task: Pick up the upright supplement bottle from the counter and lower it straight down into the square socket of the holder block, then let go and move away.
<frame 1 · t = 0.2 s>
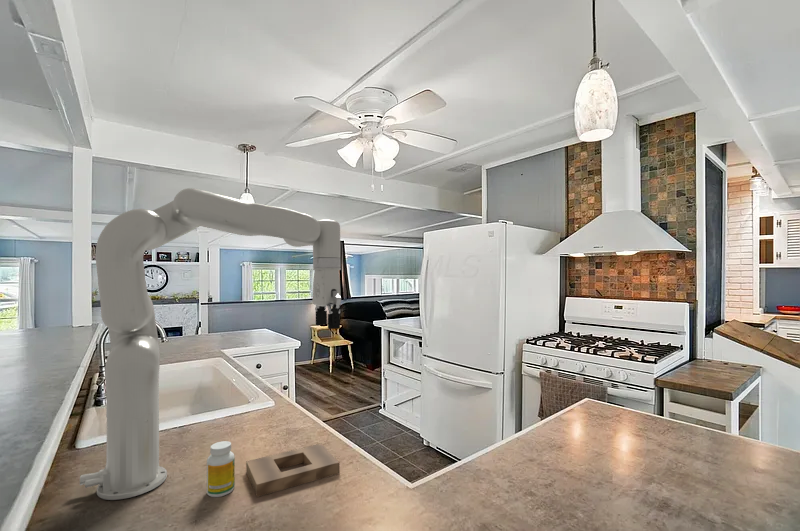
hand: (327, 326, 109), 31 cm above the countertop, tool pointing down, fingers open, 9 cm apart
holder: (292, 472, 90), on the countertop
supplement bottle: (220, 491, 83), on the countertop
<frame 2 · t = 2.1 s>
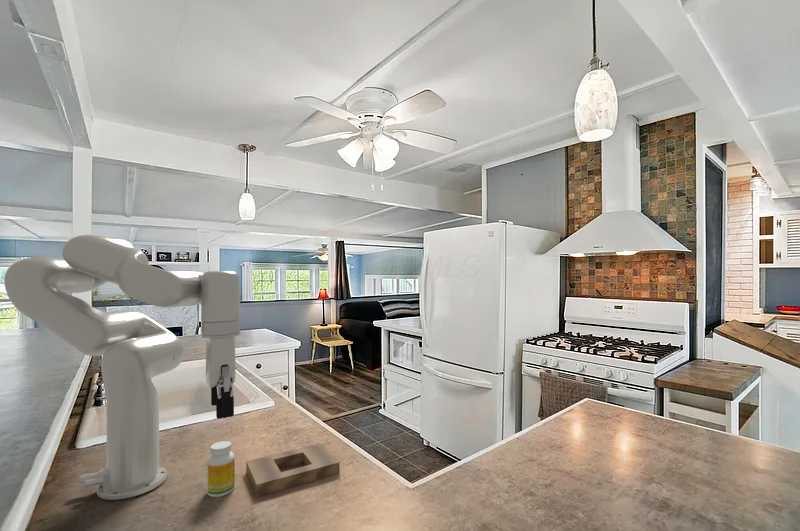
hand: (222, 410, 83), 17 cm above the countertop, tool pointing down, fingers open, 9 cm apart
nothing on the countertop moved.
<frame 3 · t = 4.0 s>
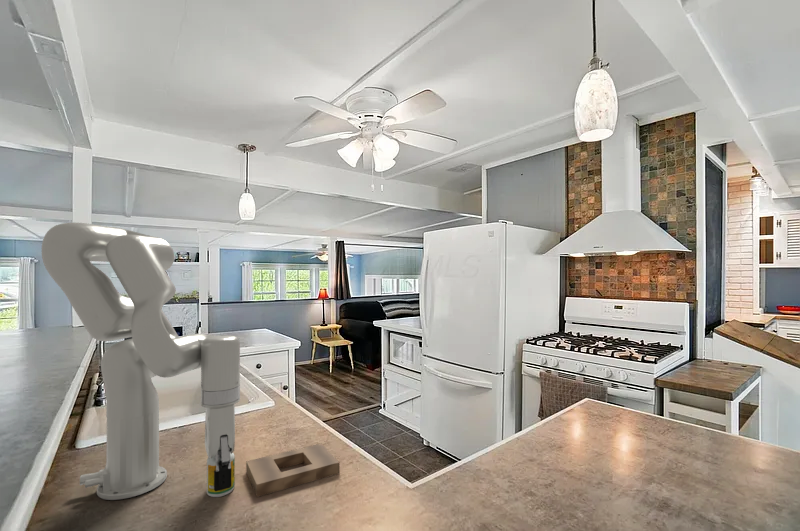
hand: (220, 481, 83), 2 cm above the countertop, tool pointing down, fingers closed on supplement bottle, 5 cm apart
supplement bottle: (220, 491, 83), on the countertop, touching gripper
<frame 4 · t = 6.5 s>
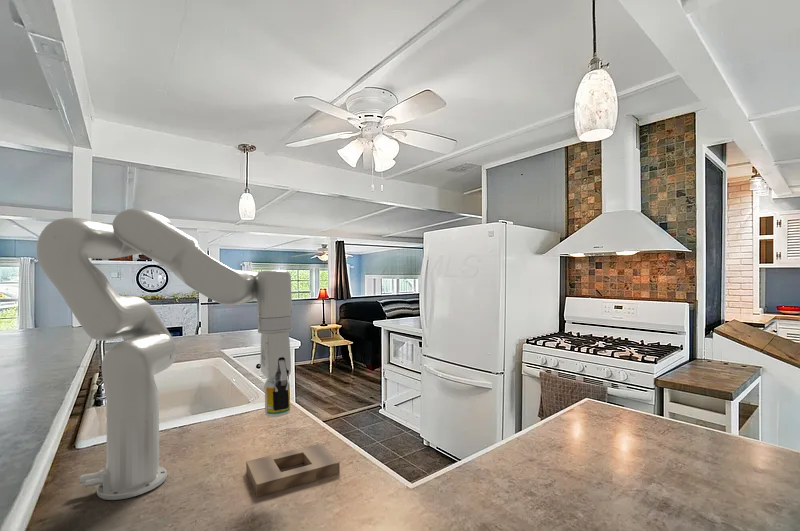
hand: (277, 404, 89), 16 cm above the countertop, tool pointing down, fingers closed on supplement bottle, 5 cm apart
supplement bottle: (278, 414, 89), point 14 cm above the countertop, touching gripper
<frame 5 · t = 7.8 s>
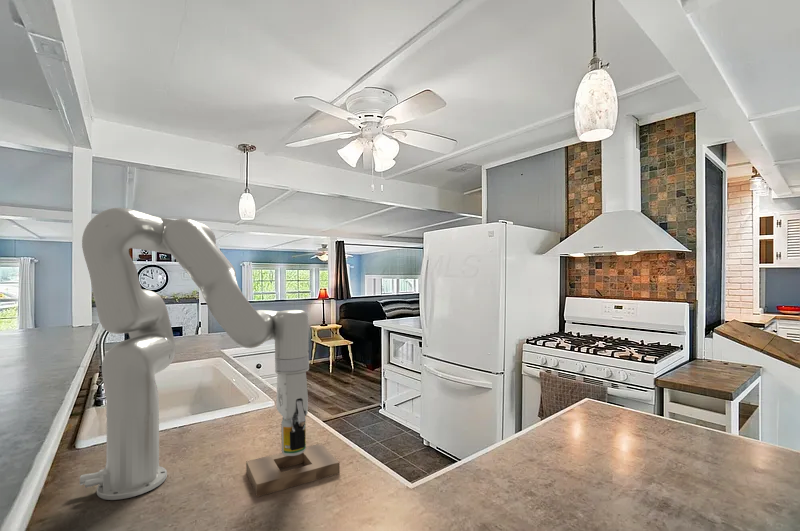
hand: (293, 442, 90), 7 cm above the countertop, tool pointing down, fingers closed on supplement bottle, 5 cm apart
supplement bottle: (293, 452, 90), point 5 cm above the countertop, touching gripper
when the fingers open (3 cm above the countertop, at t = 9.0 s): supplement bottle stays where it is, resting in holder.
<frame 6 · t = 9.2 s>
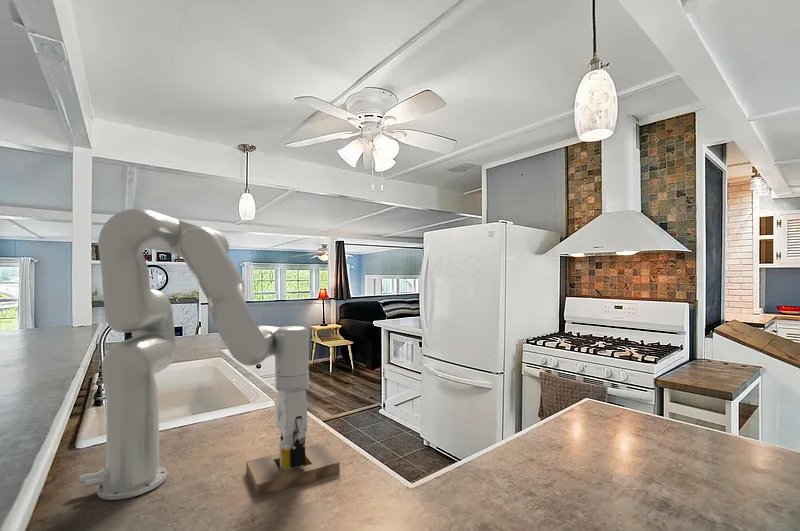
hand: (292, 458, 90), 3 cm above the countertop, tool pointing down, fingers open, 7 cm apart
supplement bottle: (291, 474, 90), resting in holder
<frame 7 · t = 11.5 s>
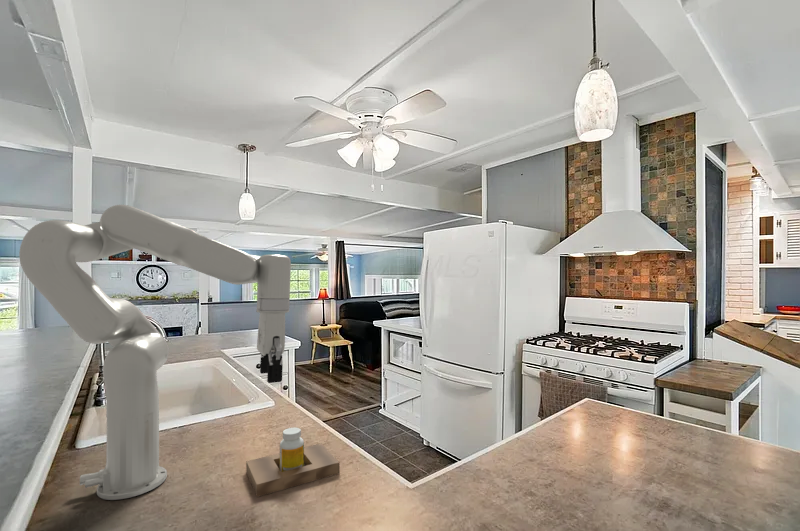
hand: (270, 377, 95), 21 cm above the countertop, tool pointing down, fingers open, 9 cm apart
nothing on the countertop moved.
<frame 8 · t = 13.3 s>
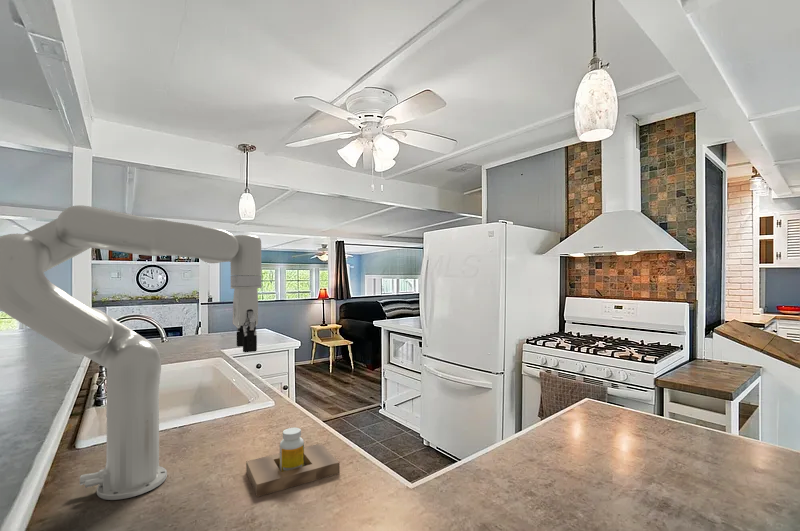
hand: (246, 348, 102), 26 cm above the countertop, tool pointing down, fingers open, 9 cm apart
nothing on the countertop moved.
at the end: supplement bottle 0.2 cm off-centre on the holder, point 0.0 cm above the holder's base; supplement bottle tilted 0°; the gripper is holding nothing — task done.
